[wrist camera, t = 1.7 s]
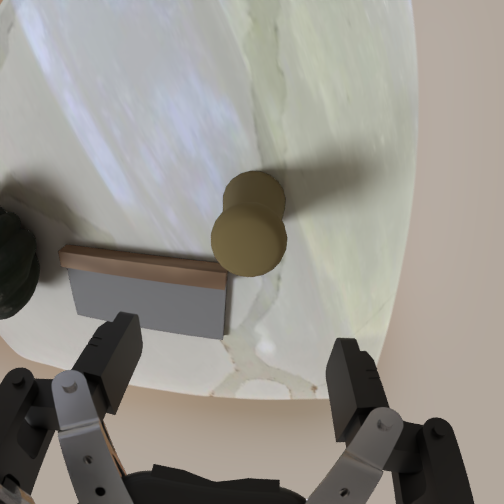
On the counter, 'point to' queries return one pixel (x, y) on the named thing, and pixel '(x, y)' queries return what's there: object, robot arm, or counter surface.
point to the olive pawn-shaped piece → (250, 225)
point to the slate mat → (150, 303)
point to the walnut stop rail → (145, 266)
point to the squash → (16, 265)
